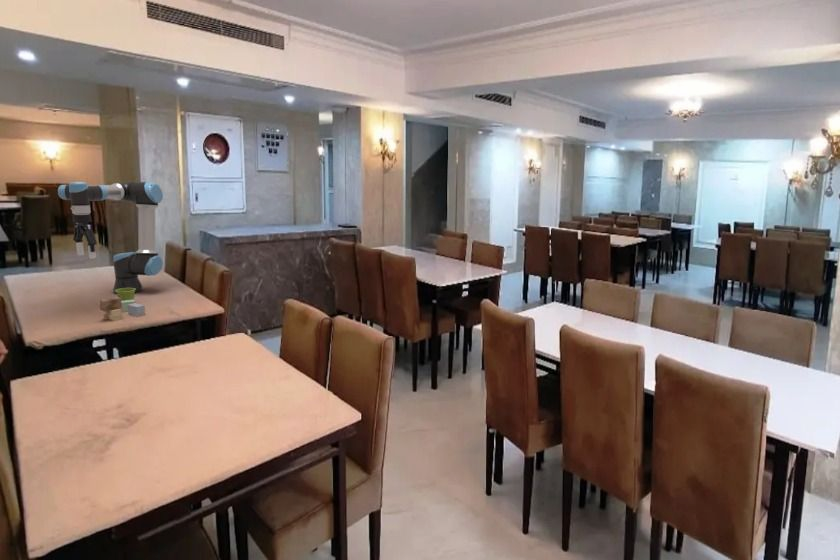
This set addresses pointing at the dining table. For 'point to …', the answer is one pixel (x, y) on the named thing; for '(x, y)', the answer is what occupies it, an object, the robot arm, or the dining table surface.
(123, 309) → the sage brick
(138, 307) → the grey brick
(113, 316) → the oak brick
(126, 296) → the plant pot
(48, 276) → the dining table surface
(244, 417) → the dining table surface
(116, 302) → the walnut brick
